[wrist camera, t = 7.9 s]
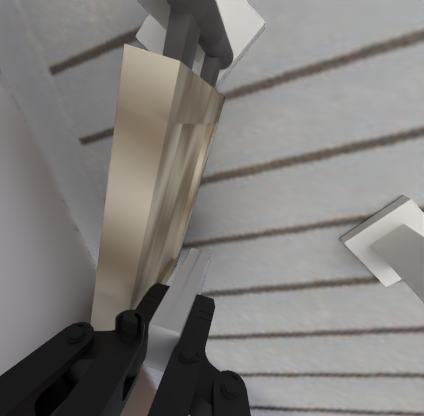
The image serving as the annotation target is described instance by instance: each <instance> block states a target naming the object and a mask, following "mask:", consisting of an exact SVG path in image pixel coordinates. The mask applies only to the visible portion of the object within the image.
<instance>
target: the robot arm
mask: <svg viewBox="0 0 424 416" xmlns="http://www.w3.org/2000/svg"><path fill="white" fill-rule="evenodd" d="M210 255H211V253H209V252H206V251H202V250H198V249H195V248H191V250H190V252H189V253H188V255H187V257H186V259H185V261H184V262H183V264H182V266H181V268H180V269H179V271H178V273H177V275H176V277H175V278H174V280H173V282H172V284H171V285H170V286H167V285H164V284H161V283H156V284H154V285H153V286H151V287H150V288H149V290H148V291H147V292H146V294H145V295H144V297H143V298H142V300H141V301H140V303H139V304H138V306H137V307H136V309H135V310H133V309H130V310H125V311H123V312H121V313H119V314H118V315H117V316H116V318H115V330H111V331H94V328H93V327H92V326H91V324H88V323H86V322H79V323H74V324H72V325H70V326H68V327H66V328H65V329H64V330H62V331H61V332H59V333H58V334H57V335H55V336H54V337H53V338H52V339H50V340H49V341H47V342H46V343H45V344H43V345H42V346H41V347H39V348H38V349H36V350H35V351H34V352H32V353H31V354H30V355H28V356H27V357H26V358H24V359H23V360H21V361H20V362H19V363H17V364H16V365H15V366H13V367H12V368H11V369H9V370H8V371H7V372H5V373H4V374H2V375H1V376H0V416H120V414H121V412H122V410H123V408H124V406H125V404H126V402H127V400H128V398H129V395H130V394H131V391H132V389H133V388H134V385H135V383H136V381H137V379H138V377H139V373H140V368H141V366H142V364H143V362H144V360H145V362H144V365H145V366H148V367H151V368H154V369H157V370H160V371H163V372H164V374H163V377H162V379H161V382H160V384H159V387H158V390H157V392H156V395H155V398H154V400H153V403H152V405H151V408H150V411H149V413H148V416H188V415H190V416H251V414H250V408H249V402H248V396H247V389H246V386H245V383H244V381H243V380H242V378H241V377H240V376H239V375H238V374H236V373H235V372H233V371H229V370H226V371H222V372H220V371H219V370H218V369H216V368H215V367H214V366H213V365H212V364H211V363H210V362H209V361H208V359H207V357H206V353H205V346H206V342H207V338H208V334H209V330H210V326H211V322H212V318H213V314H214V310H215V304H214V300H213V299H212V298H209V297H205V296H202V295H200V294H201V291H202V288H203V286H204V282H205V277H206V273H207V269H208V264H209V260H210Z"/></svg>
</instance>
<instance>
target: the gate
mask: <svg viewBox="0 0 424 416" xmlns="http://www.w3.org/2000/svg"><path fill="white" fill-rule="evenodd" d="M166 1H167V2H168V4H169V5H170V6H171V9H170V15H169V20H168V26H167V32H166V37H165V43H164V49H163V54H162V55H159V54H156V53H153V52H150V51H147V50H143V49H140V48H137V47H134V46H131V45H127V44H124V52H123V60H122V69H121V77H120V85H119V93H118V102H117V110H116V118H115V126H114V135H113V143H112V151H111V160H110V168H109V176H108V184H107V193H106V201H105V209H104V217H103V226H102V234H101V242H100V251H99V259H98V267H97V275H96V284H95V292H94V300H93V308H92V317H91V326H92V327H93V328H94V331H111V330H115V318H116V316H117V315H118V314H119V313H121V312H123V311H125V310H130V309H133V310H135V309H136V307H137V306H138V304H139V303H140V301H141V300H142V298H143V297H144V295H145V294H146V292H147V291H148V290H149V288H150V287H151V286H153V285H154V284H156V283H161V284H164V285H166V283H167V281H168V279H169V278H170V276H171V274H172V272H173V271H174V269H175V267H176V265H177V262H178V259H179V255H180V252H181V248H182V245H183V242H184V238H185V235H186V231H187V228H188V224H189V221H190V217H191V214H192V210H193V207H194V203H195V200H196V196H197V193H198V190H199V186H200V183H201V179H202V176H203V172H204V169H205V165H206V162H207V158H208V155H209V151H210V148H211V144H212V141H213V138H214V134H215V131H216V127H217V124H218V120H219V117H220V113H221V110H222V106H223V103H224V99H225V97H224V96H223V95H221V94H220V93H219V92H218V91H217V90H215V86H216V82H217V79H218V75H219V71H220V69H221V70H223V69H226V68H228V67H229V66H230V65H231V64H232V62H233V57H234V55H233V51H232V48H231V45H230V42H229V39H228V36H227V33H226V30H225V27H224V25H223V22H222V19H221V16H220V13H219V10H218V7H217V4H216V1H215V0H166ZM198 44H199V45H200V47H201V48H202V49H203V51H204V52H205V57H204V61H203V65H202V69H201V74H200V77H199V76H198V75H197V74H196V73H194V72H193V71H192V68H193V63H194V59H195V54H196V50H197V45H198Z"/></svg>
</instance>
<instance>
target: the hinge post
mask: <svg viewBox="0 0 424 416" xmlns="http://www.w3.org/2000/svg"><path fill="white" fill-rule="evenodd" d="M137 1H138V2H139V3H140V4H141V5H142V6H143V7H144V8H145V9H146V10H147V11H148V12H149V15H148V16H147V18H146V20H145V21H144V23H143V25H142V26H141V28H140V30H139V31H138V33H137V34H136V36H135V37H136V38H137V39H138V40H139V41H140V42H141V43H142V44H143V45H144V46H145V47H146V48H147V49H148V50H149V51H150V52H153V53H156V54H159V55H162V54H163V49H164V43H165V37H166V32H167V26H168V20H169V15H170V9H171V6H170V5H169V4H168V2H167V1H166V0H137ZM215 1H216V4H217V7H218V10H219V13H220V16H221V19H222V22H223V25H224V27H225V30H226V33H227V36H228V39H229V42H230V45H231V48H232V51H233V55H234V57H233V62H232V64H231V65H230V66H229V67H228V68H226V69H223V70H221V69H220V71H219V75H218V79H217V82H216V86H215V88H216V87H217V86H218V85H219V84H220V82H221V81H222V80H223V79H224V77H225V76H226V75H227V74H228V73H229V71H230V70H231V69H232V68H233V66H234V65H235V64H236V63H237V62H238V60H239V59H240V58H241V57H242V55H243V54H244V53H245V52H246V51H247V49H248V48H249V47H250V46H251V44H252V43H253V42H254V41H255V40H256V38H257V37H258V36H259V35H260V33H261V32H262V31H263V30H264V29H265V21H264V20H263V19H262V18H261V17H260V16H259V15H258V14H257V12H256V11H255V10H254V9H253V8H252V7H251V6H250V4H249V3H248V2H247V1H246V0H215ZM204 57H205V52H204V51H203V49H202V48H201V47H200V45H199V44H198V45H197V50H196V54H195V59H194V63H193V68H192V71H193V72H194V73H196V74H197V75H198V76H199V77H200V74H201V69H202V65H203V61H204Z"/></svg>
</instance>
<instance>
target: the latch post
mask: <svg viewBox="0 0 424 416" xmlns="http://www.w3.org/2000/svg"><path fill="white" fill-rule="evenodd" d="M340 239H341V240H342V242H343V243H344V244H345V245H346V246H347V247H348V248H349V249H350V250H351V251H352V252H353V253H354V254H355V255H356V256H357V257H358V259H359V260H360V261H361V262H362V263H363V264H364V265H365V266H366V267H367V268H368V269H369V270H370V271H371V272H372V273H373V274H374V275H375V276H376V277H377V278H378V279H379V280H380V281H381V282H382V283H383V284H384V285H385V287H388V286H390V285H391V284H393V283H395V282H397V281H399V280H401V279H403V281H404V282H405V283H406V284H407V285H408V286H409V287H410V288H411V289H412V290H413V291H414V292H415V293H416V295H417V296H418V297H419V298H420V299H421V300H422V301H423V302H424V213H423V212H422V211H421V210H420V209H419V207H418V206H417V205H416V204H415V203H414V202H413V201H412V200H411V199H410V198H408V197H406V196H402V197H401V198H399V199H398V200H396V201H395V202H393V203H392V204H390V205H389V206H387V207H386V208H384V209H383V210H381V211H380V212H378V213H377V214H375V215H374V216H372V217H371V218H369V219H368V220H366V221H365V222H363V223H362V224H360V225H359V226H357V227H356V228H354V229H353V230H351V231H350V232H348V233H347V234H345V235H344V236H342V237H341V238H340Z"/></svg>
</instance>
